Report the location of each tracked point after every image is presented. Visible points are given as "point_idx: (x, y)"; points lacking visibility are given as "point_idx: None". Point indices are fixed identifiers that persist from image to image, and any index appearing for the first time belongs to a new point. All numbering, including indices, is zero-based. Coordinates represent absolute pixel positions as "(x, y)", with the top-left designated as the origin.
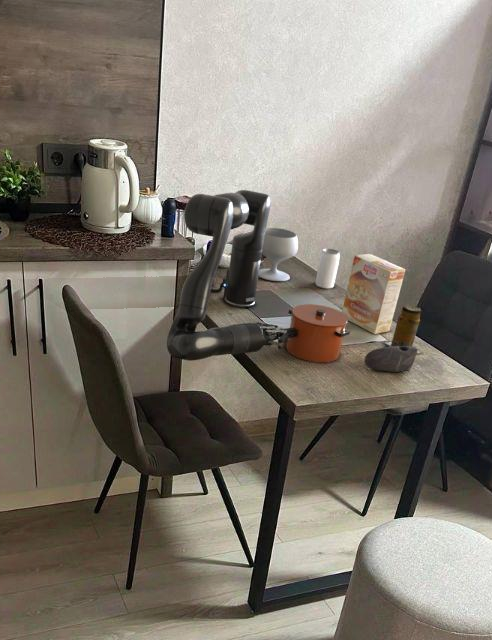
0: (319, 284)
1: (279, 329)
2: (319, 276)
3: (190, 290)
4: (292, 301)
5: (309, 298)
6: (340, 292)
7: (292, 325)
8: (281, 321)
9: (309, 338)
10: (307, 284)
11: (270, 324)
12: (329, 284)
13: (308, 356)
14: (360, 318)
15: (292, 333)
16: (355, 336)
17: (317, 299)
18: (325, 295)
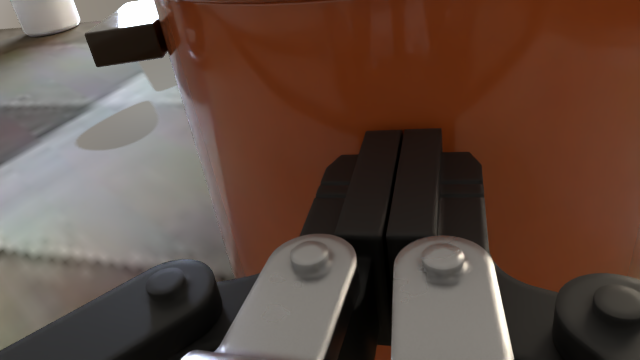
0: (40, 27)
1: (338, 318)
2: (25, 5)
3: None
4: (3, 92)
5: (50, 61)
6: None
7: (300, 123)
8: (33, 176)
9: (611, 135)
10: (5, 45)
11: (42, 335)
12: (68, 14)
13: None
14: None
15: (484, 211)
16: None
17: (77, 53)
18: (85, 38)
